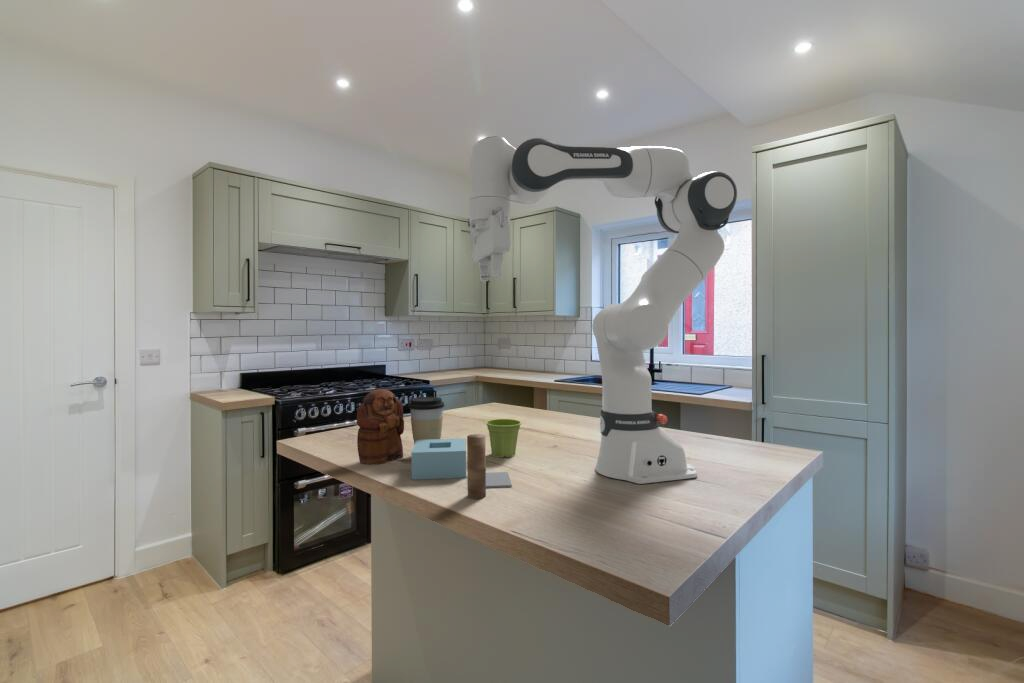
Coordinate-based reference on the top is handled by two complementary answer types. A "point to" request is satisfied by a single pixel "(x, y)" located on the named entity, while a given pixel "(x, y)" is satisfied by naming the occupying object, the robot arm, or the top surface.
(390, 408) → the wooden figurine
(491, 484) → the pad
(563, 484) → the top surface
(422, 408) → the coffee cup
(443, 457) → the socket
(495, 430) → the plant pot
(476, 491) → the peg
